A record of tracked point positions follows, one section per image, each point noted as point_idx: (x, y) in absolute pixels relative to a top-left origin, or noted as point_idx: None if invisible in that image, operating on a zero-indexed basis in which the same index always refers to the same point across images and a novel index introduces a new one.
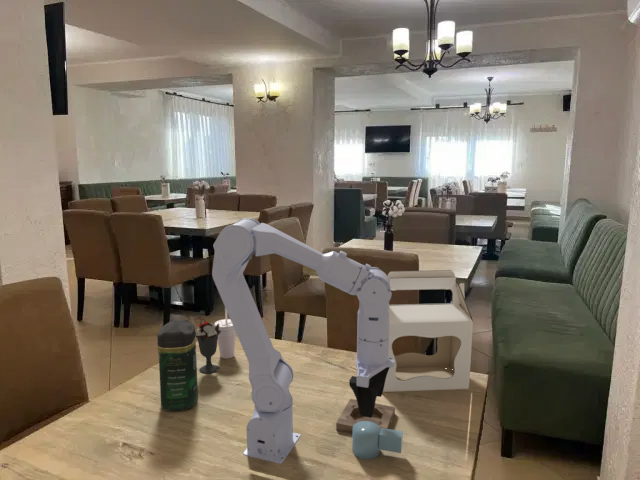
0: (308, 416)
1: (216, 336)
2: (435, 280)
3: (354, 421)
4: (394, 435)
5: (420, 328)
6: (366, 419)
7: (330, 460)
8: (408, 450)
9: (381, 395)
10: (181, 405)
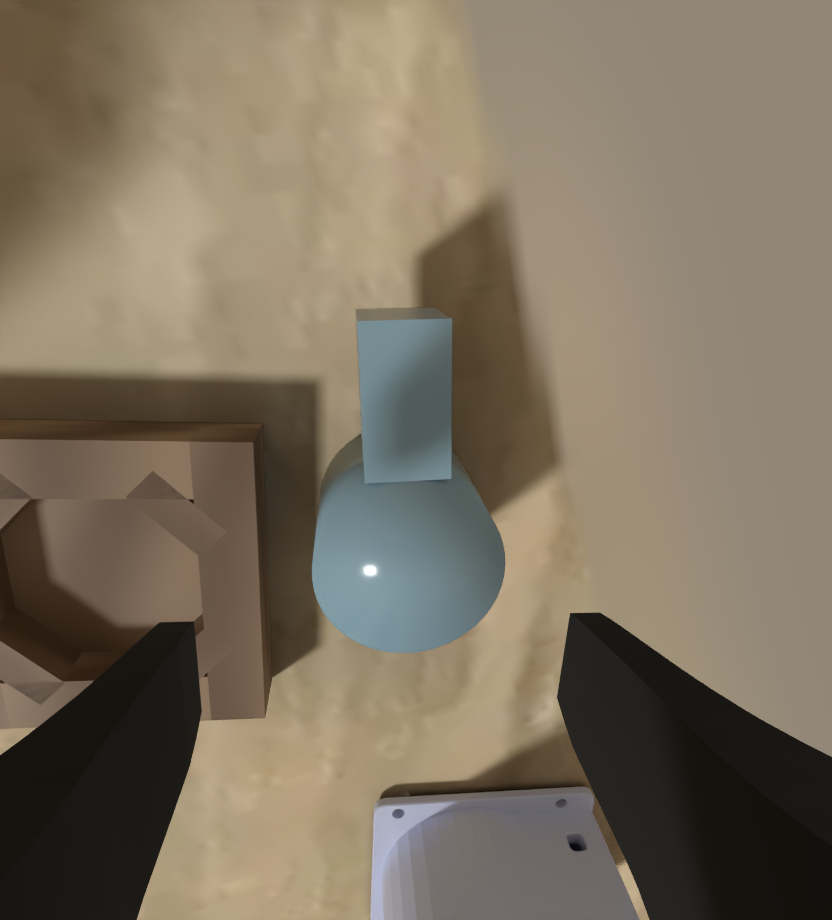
0: (194, 827)
1: None
2: None
3: (207, 638)
4: (431, 375)
5: None
6: (91, 574)
7: (503, 632)
8: (289, 269)
9: (169, 623)
10: None
